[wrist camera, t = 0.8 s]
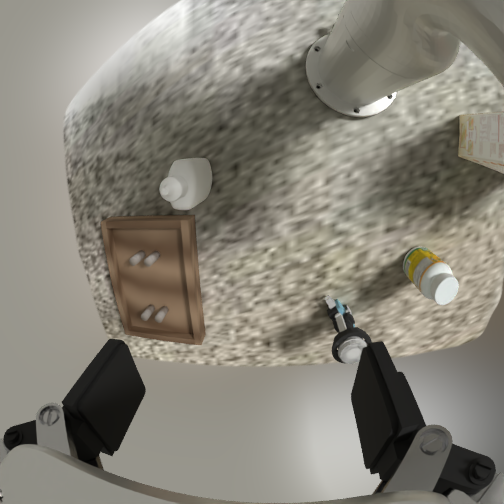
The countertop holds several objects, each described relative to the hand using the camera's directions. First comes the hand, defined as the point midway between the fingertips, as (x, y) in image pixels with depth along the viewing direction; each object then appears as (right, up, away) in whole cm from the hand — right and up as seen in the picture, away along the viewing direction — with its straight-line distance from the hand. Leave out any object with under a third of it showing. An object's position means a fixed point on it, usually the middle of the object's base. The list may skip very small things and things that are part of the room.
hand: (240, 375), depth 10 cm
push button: (+14, -4, +30) cm, 33 cm away
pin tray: (-14, +1, +31) cm, 34 cm away
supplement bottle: (+26, +3, +26) cm, 37 cm away
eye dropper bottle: (-6, +15, +25) cm, 30 cm away
